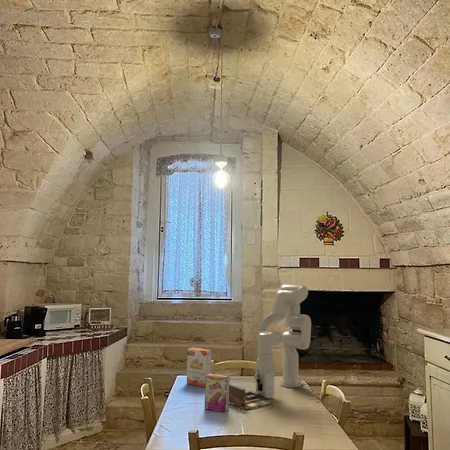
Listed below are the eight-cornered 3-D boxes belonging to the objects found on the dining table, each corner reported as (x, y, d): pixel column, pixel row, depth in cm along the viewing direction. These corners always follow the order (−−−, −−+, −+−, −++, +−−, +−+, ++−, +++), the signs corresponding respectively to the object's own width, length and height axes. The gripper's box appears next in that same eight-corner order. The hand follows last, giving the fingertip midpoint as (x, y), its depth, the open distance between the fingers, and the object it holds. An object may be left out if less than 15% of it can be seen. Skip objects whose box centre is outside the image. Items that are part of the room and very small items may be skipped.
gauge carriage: (251, 394, 236) (251, 390, 237) (271, 401, 224) (271, 397, 224) (240, 396, 232) (240, 392, 232) (260, 404, 220) (260, 400, 220)
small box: (274, 397, 235) (274, 372, 236) (265, 399, 231) (266, 374, 232) (263, 393, 241) (263, 369, 242) (255, 395, 237) (255, 371, 238)
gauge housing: (247, 396, 237) (247, 379, 238) (270, 404, 223) (270, 386, 224) (224, 401, 227) (224, 383, 228) (247, 410, 213) (247, 391, 214)
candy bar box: (204, 409, 212) (204, 375, 214) (207, 407, 217) (208, 373, 219) (225, 412, 209) (226, 377, 210) (229, 409, 213) (229, 375, 215)
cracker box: (186, 384, 259) (187, 348, 262) (192, 382, 265) (193, 347, 267) (205, 387, 252) (206, 351, 254) (211, 385, 257) (212, 349, 259)
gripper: (271, 353, 246) (271, 385, 244) (248, 356, 235) (248, 390, 234) (281, 355, 240) (281, 388, 239) (257, 359, 230) (257, 394, 228)
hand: (264, 389), depth 236 cm, fingers closed on small box, 6 cm apart
